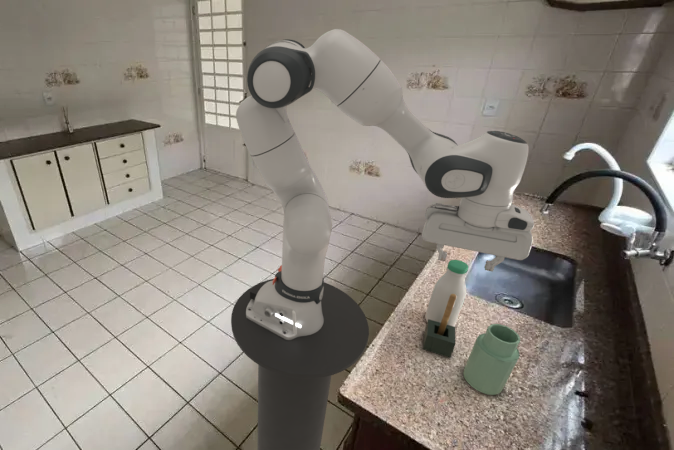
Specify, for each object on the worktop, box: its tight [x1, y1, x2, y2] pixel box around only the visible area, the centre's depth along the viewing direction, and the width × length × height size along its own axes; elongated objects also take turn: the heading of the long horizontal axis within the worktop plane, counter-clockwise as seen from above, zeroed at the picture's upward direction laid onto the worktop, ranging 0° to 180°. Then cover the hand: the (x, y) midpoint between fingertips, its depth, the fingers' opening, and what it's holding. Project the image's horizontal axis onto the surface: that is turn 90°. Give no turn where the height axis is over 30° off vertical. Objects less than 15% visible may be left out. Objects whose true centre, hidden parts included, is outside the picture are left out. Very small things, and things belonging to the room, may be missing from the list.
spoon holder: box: [422, 319, 456, 358], centre depth 91 cm, size 6×6×5 cm
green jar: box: [463, 323, 521, 396], centre depth 79 cm, size 8×8×15 cm
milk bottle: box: [424, 259, 469, 328], centre depth 95 cm, size 8×8×20 cm
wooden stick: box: [437, 294, 457, 335], centre depth 88 cm, size 1×2×17 cm, turn 153°
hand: (464, 264), depth 80 cm, fingers open, 8 cm apart
